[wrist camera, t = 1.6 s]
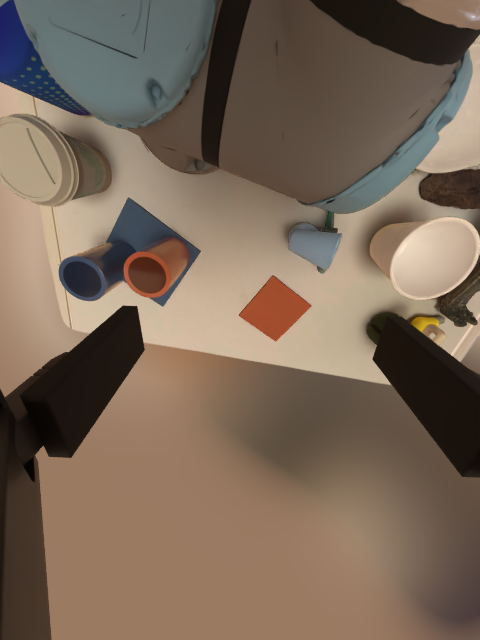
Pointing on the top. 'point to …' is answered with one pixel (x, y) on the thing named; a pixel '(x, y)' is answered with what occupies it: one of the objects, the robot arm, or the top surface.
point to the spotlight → (313, 244)
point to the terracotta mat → (274, 309)
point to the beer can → (28, 63)
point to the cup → (426, 255)
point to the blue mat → (147, 236)
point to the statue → (462, 300)
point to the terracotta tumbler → (156, 267)
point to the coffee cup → (48, 162)
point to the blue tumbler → (95, 270)
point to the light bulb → (426, 322)
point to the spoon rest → (459, 131)
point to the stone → (453, 189)
